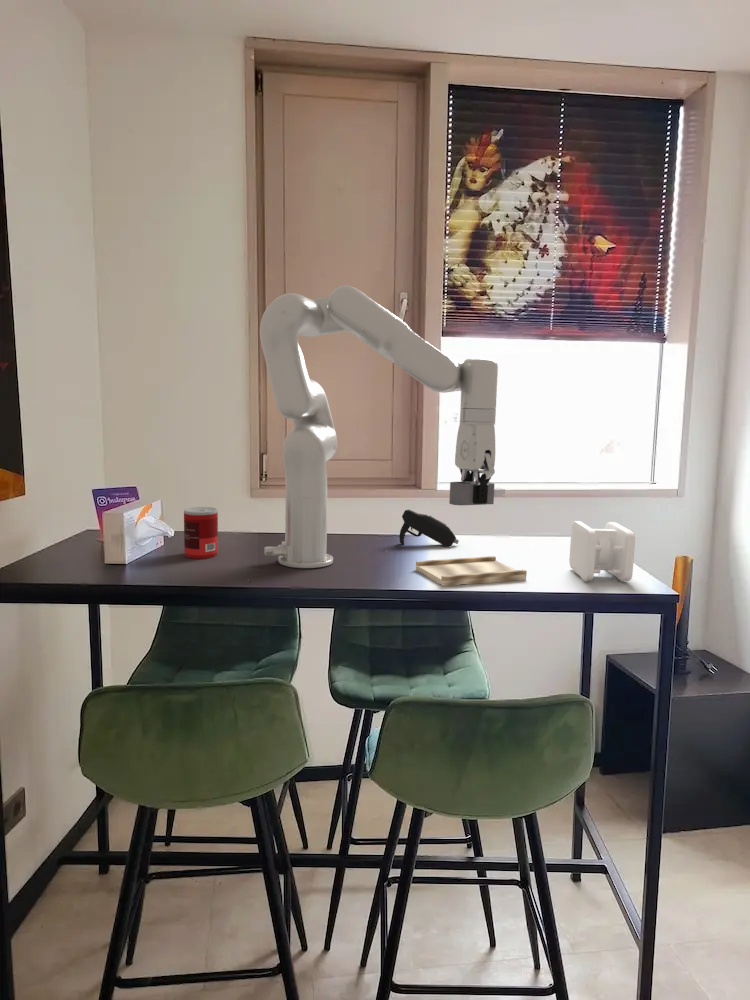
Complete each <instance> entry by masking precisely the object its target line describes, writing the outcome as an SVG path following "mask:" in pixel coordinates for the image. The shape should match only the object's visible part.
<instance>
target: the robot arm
mask: <svg viewBox="0 0 750 1000" xmlns="http://www.w3.org/2000/svg"><path fill="white" fill-rule="evenodd" d="M343 332H348V333H350V334H351V335H353V336H355V337H356V338H357V339H359V340H360V341H361V342H363V343H364V344H365V345H367V346H368V347H370V348H371V349H373V351H375V352H376V353H378V354H379V355H381V356H382V357H383V358H385V359H386V360H388V361H390V362H391V363H393V364H394V365H396V366H397V367H398V368H400V369H401V370H402V371H404V372H405V373H407V374H408V375H409V376H411V377H412V378H413V379H415V380H417V381H418V382H419V383H421V384H422V385H423V386H424V387H426V388H428V389H429V390H431V391H433V392H436V393H442V394H443V393H453V392H460V411H459V424H458V425H459V426H458V430H457V435H456V436H457V437H456V445H455V453H454V454H455V455H454V456H455V457H454V465H455V466H456V468H458V470H459V471H460V474H461V476H460V480H461V481H460V482H465V481H475V483H476V485H474V488H473V503H474V504H485V503H487V495H488V485H489V482H490V480H491V478H492V477H493V476H494V475H495V472H496V470H495V464H496V463H495V462H496V430H495V425H496V418H497V417H496V415H497V414H496V412H497V409H496V408H497V389H498V372H499V369H498V368H499V366H498V362H497V360H495V359H492V358H485V357H484V358H482V357H478V358H477V357H476V358H475V357H470V358H466V359H457V358H452V357H450V356H448V355H447V354H446V353H443V352H442V351H440V350H439V349H438V348H436V347H435V346H433V345H432V344H430V343H429V342H428V341H426V340H425V339H424V338H422V337H421V336H419V334H418V333H416V332H415V331H414V330H412V329H411V328H410V327H409V326H408V324H407V323H406V322H405V321H403V320H402V319H401V318H399V316H396V315H395V314H394V313H393V312H391V311H389V310H388V309H387V308H385V307H384V306H382V305H381V304H379V303H378V302H376V300H374V299H373V298H371V297H370V296H368V295H367V294H365V293H364V292H363V291H361V290H359V289H358V288H357V287H354V286H351V285H346V284H345V285H341V286H338V287H336V288H335V289H334V290H332V292H331V294H330V295H329V296H324V297H323V296H322V297H317V298H309V297H307V296H304V295H302V294H299V293H295V292H293V293H292V292H289V293H284V294H282V295H280V296H278V297H276V298H274V300H273V301H271V302H270V303H269V305H268V306H267V307H266V309H265V310H264V312H263V315H262V318H261V319H260V326H259V339H260V344H261V345H260V346H261V349H262V353H263V357H264V361H265V365H266V368H267V374H268V378H269V381H270V385H271V390H272V393H273V396H274V397H273V398H274V402H275V405H276V409H277V411H278V412H279V413H280V414H281V416H282V417H284V418H286V419H287V420H292V422H293V426H294V428H292V429H291V430H290V431H289V433H288V434H287V435H286V437H285V439H284V441H283V446H282V457H283V459H282V460H283V465H284V466H283V467H284V474H285V475H284V476H285V477H284V479H285V480H284V481H285V483H284V484H285V485H284V486H285V507H284V509H285V510H284V511H285V512H284V513H285V516H284V517H285V518H284V520H285V524H284V525H285V526H284V530H285V533H284V535H285V536H284V537H285V538H284V541H281V544H278V545H277V546H264V549H263V550H264V552H263V553H264V556H272V557H277V559H278V560H277V561H278V563H279V564H280V565H282V566H285V567H290V568H295V569H316V568H323V567H327V566H330V565H331V564H333V562H334V556H332V555H331V554H329V553H327V549H328V548H327V545H328V544H327V543H328V541H327V540H328V539H327V533H328V472H327V463H326V462H328V461H329V460H331V459H332V458H333V457H334V455H335V453H336V452H337V448H338V435H337V432H336V427H335V424H334V420H333V416H332V413H331V412H332V411H331V408H330V405H329V401H328V397H327V394H326V392H325V389H324V388H323V387H322V386H321V384H319V382H317V381H316V380H314V379H311V377H310V376H309V373H308V369H307V365H306V361H305V357H304V354H303V352H302V348H301V346H300V343H299V336H300V337H304V338H309V337H310V338H311V337H312V338H313V337H319V336H323V335H326V336H327V335H331V334H337V333H343ZM480 474H481V475H480Z"/></svg>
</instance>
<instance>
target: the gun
mask: <svg viewBox="0 0 750 1000" xmlns="http://www.w3.org/2000/svg"><path fill="white" fill-rule="evenodd" d="M401 518H402V520H403V524H402V526H401V528H400V531H399V544H400V545H401V544H402V545H403V546H404V545H405V536H406V534H407V533H408V534H410V535H412V536H414V537H421V536H422V535H424V536H426V537H427V538H430V539H431V540H433V541H435V542H437V543H438V544H441V545H442V546H444V547H446V548H450V547H449V546H451V547H452V546H453V544H456V545H458V544H459V542H460V540H459V539H457V537H456V535H455V534H454V531H452V530H451V528H450V527H449V526H448V525H447V524H446V523H445V522H442V521H441V520H439V519H437V518H435V517H433V516H432V515H427V514H422V513H418V512H416V511H414V510H411V509H405V510H404V512H403V513H402V515H401ZM409 529H410V530H409ZM413 530H415V531H417V532H418V533H417V534H416V533H415V532H413Z"/></svg>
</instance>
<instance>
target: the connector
mask: <svg viewBox="0 0 750 1000" xmlns="http://www.w3.org/2000/svg"><path fill="white" fill-rule="evenodd" d="M474 485H476V483H475V480H474V481H465V482H462V481H451V482H450V483H449V504H450V505H453V506H474V505H475V506H483V505H484V506H485V505H494V501H495V498H499V497H500V498H501V497H506V489H505V488H502V487H495V483H494V482H490V481H489V485H488V495H487V503H485V504H474V503H473V488H474Z"/></svg>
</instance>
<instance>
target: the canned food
mask: <svg viewBox="0 0 750 1000" xmlns="http://www.w3.org/2000/svg"><path fill="white" fill-rule="evenodd" d="M218 512H219V511H218V508H215V507H212V506H194V507H188V508H185V509H184V510H183V533H184V534H183V538H184V539H183V541H184V542H183V543H184V549H183V550H184V555H185V557H187V558H189V559H192V560H193V559H194V560H199V559H200V560H202V559H203V560H204V559H205V560H206V559H211V558H214V557H216V556H217V555H218V551H219V545H218V544H219V537H218V536H219V535H218V532H219V530H218V529H219V525H218V524H219V522H218V521H219V519H218V517H219V515H218Z"/></svg>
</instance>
